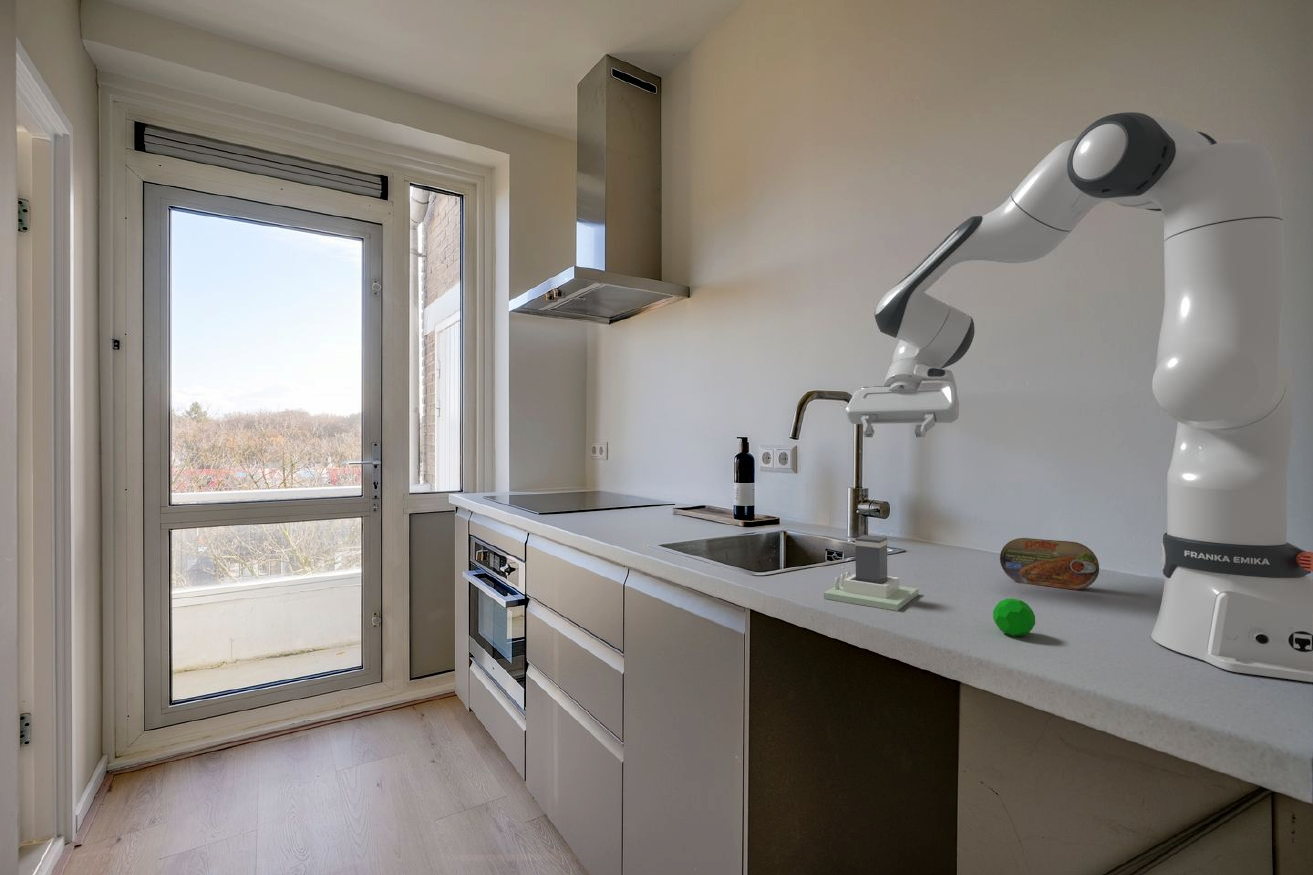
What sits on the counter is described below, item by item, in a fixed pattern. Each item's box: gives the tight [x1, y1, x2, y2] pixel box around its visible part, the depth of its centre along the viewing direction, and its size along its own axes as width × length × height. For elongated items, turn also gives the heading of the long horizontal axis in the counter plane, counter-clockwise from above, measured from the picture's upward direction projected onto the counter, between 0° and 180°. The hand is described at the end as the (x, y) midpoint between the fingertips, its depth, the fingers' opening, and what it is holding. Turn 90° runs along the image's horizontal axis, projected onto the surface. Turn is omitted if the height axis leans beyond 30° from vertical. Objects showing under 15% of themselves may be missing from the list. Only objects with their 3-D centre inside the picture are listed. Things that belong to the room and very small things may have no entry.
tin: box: [999, 537, 1100, 591], centre depth 109 cm, size 15×3×8 cm, turn 51°
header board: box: [823, 571, 919, 612], centre depth 103 cm, size 12×12×3 cm
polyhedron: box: [992, 598, 1036, 637], centre depth 83 cm, size 5×5×5 cm
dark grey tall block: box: [854, 534, 888, 585], centre depth 103 cm, size 4×4×9 cm
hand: (892, 435), depth 112 cm, fingers open, 8 cm apart
